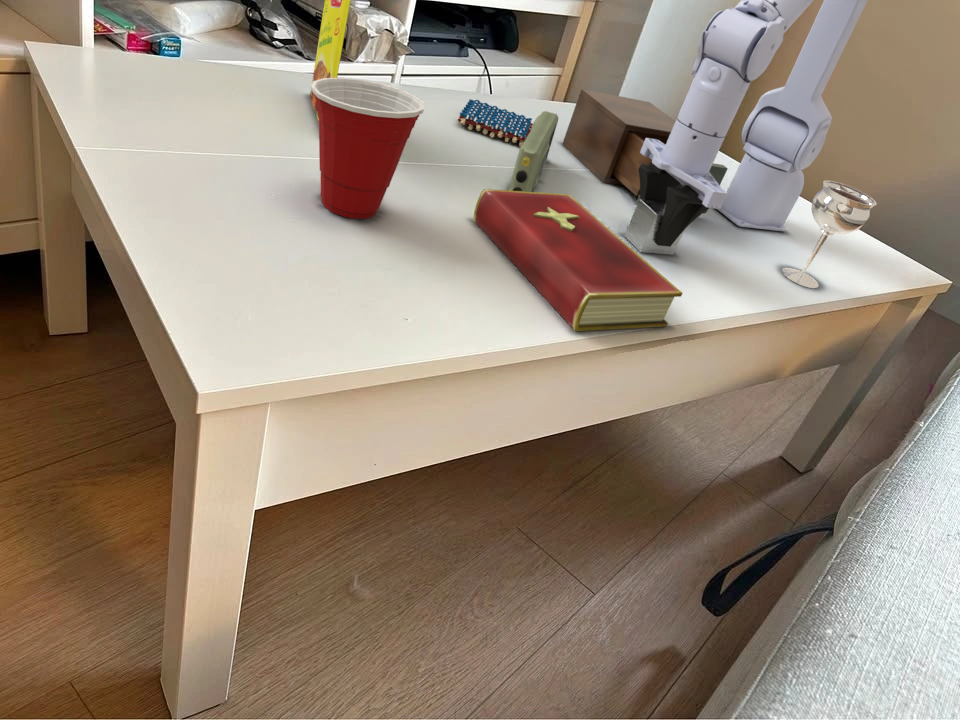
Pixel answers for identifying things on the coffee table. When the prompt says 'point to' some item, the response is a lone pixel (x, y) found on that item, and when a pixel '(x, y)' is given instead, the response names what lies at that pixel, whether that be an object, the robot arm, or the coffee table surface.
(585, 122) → the cabinet
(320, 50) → the food package
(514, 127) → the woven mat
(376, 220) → the coffee table surface
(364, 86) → the plastic cup
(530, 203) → the hardcover book
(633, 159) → the drawer
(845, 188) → the wineglass
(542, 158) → the handheld radio
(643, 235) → the metal cube
